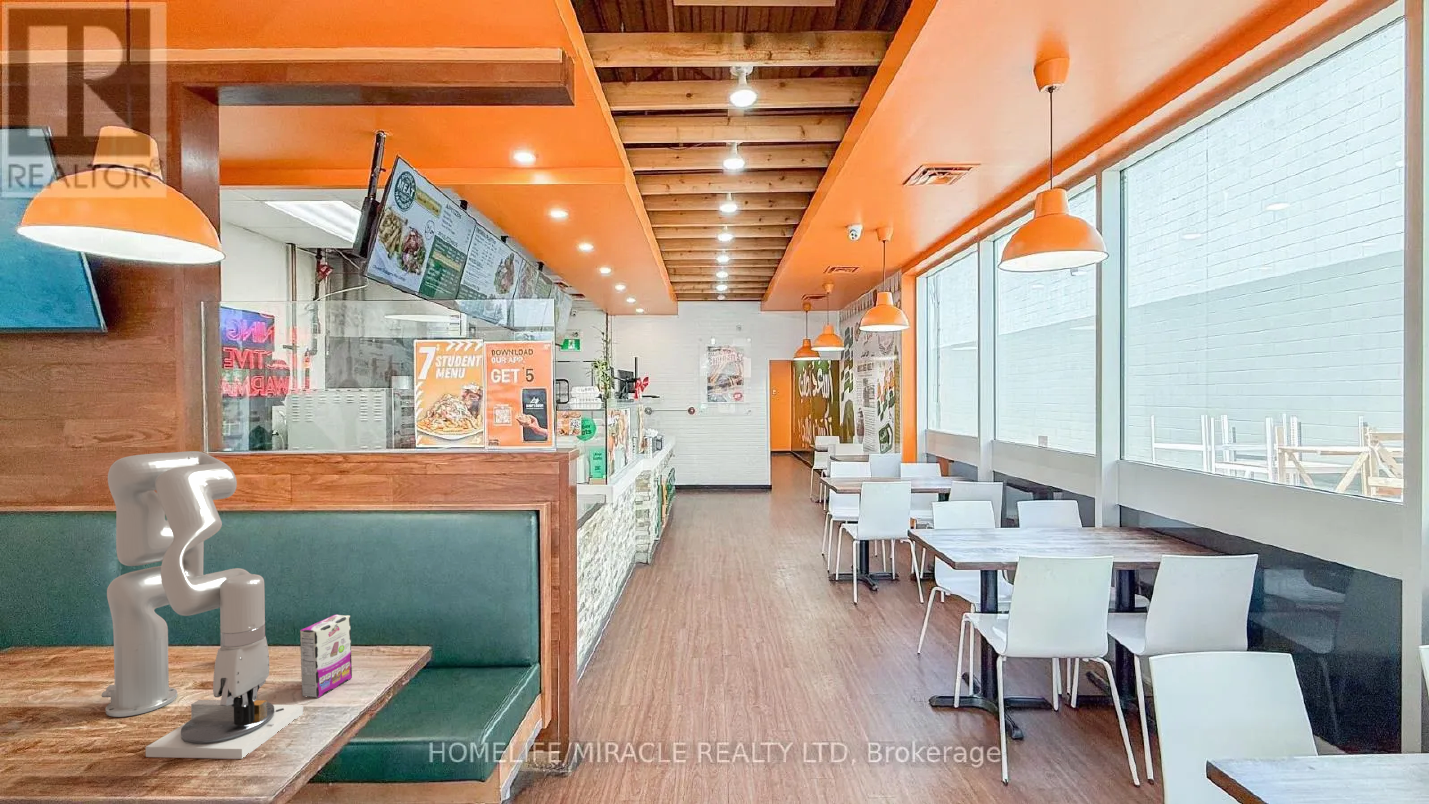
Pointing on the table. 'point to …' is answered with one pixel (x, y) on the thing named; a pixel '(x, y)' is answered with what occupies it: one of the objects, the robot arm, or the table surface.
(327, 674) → the candy bar box
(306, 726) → the table surface
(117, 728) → the table surface
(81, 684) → the table surface
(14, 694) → the table surface
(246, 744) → the dial plate
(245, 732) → the dial
